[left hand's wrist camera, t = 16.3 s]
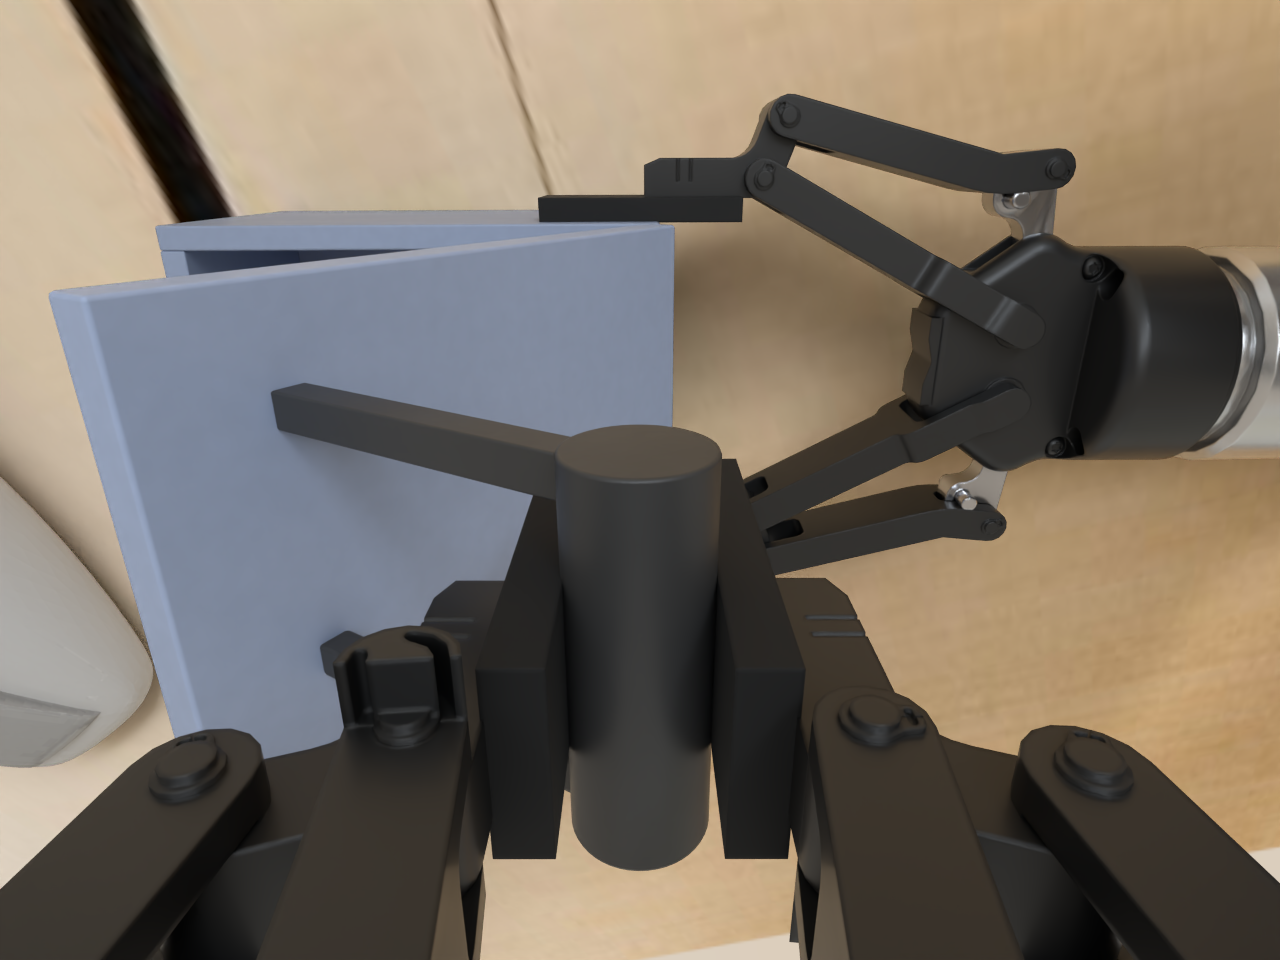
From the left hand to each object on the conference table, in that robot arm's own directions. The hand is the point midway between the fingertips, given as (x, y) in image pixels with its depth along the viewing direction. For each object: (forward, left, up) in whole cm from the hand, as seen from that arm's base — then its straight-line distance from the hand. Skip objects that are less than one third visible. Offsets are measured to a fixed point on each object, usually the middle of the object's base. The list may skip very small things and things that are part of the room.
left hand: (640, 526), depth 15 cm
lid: (-4, -1, -5) cm, 6 cm away
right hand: (-3, -1, -14) cm, 14 cm away
